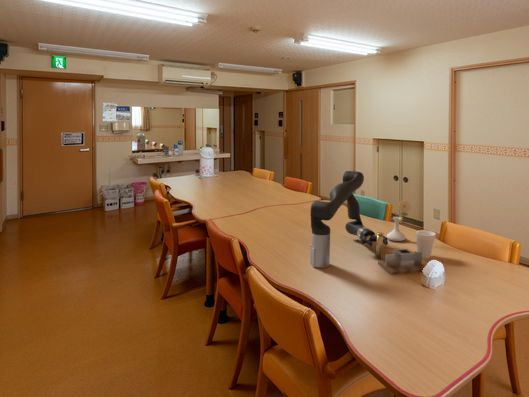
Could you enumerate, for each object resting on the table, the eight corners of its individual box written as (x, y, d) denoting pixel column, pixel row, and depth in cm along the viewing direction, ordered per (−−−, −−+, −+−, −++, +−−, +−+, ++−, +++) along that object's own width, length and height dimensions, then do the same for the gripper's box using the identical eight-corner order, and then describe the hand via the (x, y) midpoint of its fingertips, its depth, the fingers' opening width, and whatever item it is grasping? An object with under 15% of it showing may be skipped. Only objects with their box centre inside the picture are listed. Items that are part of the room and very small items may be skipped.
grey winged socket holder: (389, 269, 177) (389, 255, 175) (382, 263, 183) (382, 250, 182) (425, 266, 180) (426, 252, 178) (417, 260, 186) (417, 247, 185)
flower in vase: (387, 242, 219) (390, 201, 214) (384, 236, 230) (386, 197, 225) (410, 243, 217) (413, 202, 212) (406, 237, 228) (409, 198, 223)
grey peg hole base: (391, 275, 174) (391, 272, 173) (377, 263, 187) (378, 261, 187) (430, 271, 177) (430, 268, 176) (413, 260, 190) (414, 258, 190)
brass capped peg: (377, 259, 192) (378, 234, 189) (374, 257, 196) (375, 232, 193) (383, 259, 193) (385, 234, 190) (380, 256, 196) (381, 232, 194)
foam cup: (436, 255, 197) (438, 232, 194) (430, 260, 190) (432, 236, 187) (418, 251, 203) (420, 229, 200) (411, 256, 196) (413, 233, 194)
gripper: (354, 229, 207) (366, 238, 191) (377, 227, 209) (392, 236, 193) (353, 241, 208) (366, 251, 193) (377, 240, 211) (391, 249, 195)
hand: (379, 243), depth 193 cm, fingers open, 8 cm apart
